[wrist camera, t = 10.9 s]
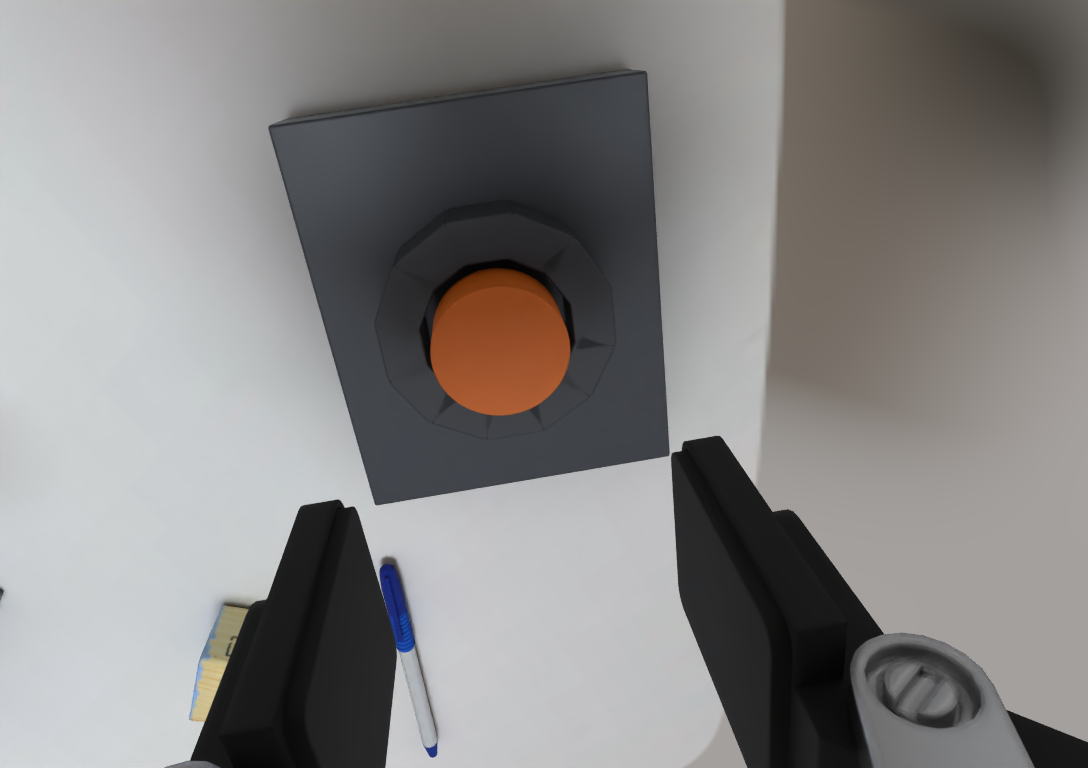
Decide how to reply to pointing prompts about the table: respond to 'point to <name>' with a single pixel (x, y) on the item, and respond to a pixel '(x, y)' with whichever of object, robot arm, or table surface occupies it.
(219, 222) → the table surface
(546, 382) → the button
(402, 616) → the ballpoint pen
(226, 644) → the alphabet block
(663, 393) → the control block
